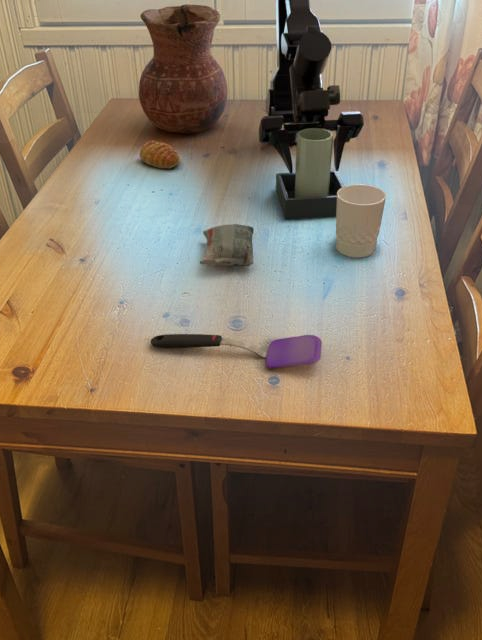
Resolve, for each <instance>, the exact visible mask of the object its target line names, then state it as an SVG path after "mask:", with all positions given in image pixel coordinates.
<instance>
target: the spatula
mask: <svg viewBox="0 0 482 640" xmlns="http://www.w3.org/2000/svg"><path fill="white" fill-rule="evenodd" d="M150 345H151V346H152V347H154V348H157V349H170V350H173V349H175V350H177V349H178V350H179V349H196V348H197V349H198V348H214V347H220V346H233V347H237V348H241V349H244V350H247V351H249V352H252V353H254V354H255V355H257V356H259V357H260V358H263V359H265V365H266V367H267V369H279V368H280V369H281V368H286V367H287V368H288V367H296V366H305V365H306V366H307V365H313V364H316V363H318V362H320V360H321V358H322V349H323V347H322V345H323V341H322V339H321V338H320V337H319V336H317V335H314V334H303V335H298V336H289V337H283V338H277V339H274V340H272V341H271V342H270V343H269V345H268V348H267V351H266V350H263V349H262V348H260V347H258V346H256V345H254V344H252V343H250V342H247V341H244V340H241V339H237V338H231V337H223V336H222V335H221V334H204V333H203V334H201V333H168V334H159V335H156V336H153V337H152V338H151V339H150Z"/></svg>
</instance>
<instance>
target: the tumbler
mask: <svg viewBox="0 0 482 640" xmlns="http://www.w3.org/2000/svg"><path fill="white" fill-rule="evenodd" d="M333 148H334V133H333V131H329V130H326V129H321V128H308V129H303V130H301V131H299V132H298V133H297V143H296V149H295V169H294V170H295V171H294V173H295V190H294V198H304V197H321V196H329V184H330V172H331V171H332V170H331V169H332V158H333Z"/></svg>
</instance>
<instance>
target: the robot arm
mask: <svg viewBox="0 0 482 640" xmlns="http://www.w3.org/2000/svg"><path fill="white" fill-rule="evenodd" d="M275 18H276V19H275V23H276V24H275V25H276V26H275V27H276V69H275V72H274V74H272V77H271V78H270V80H269V81H270V82H269V88H268V89H267V93H266V97H265V113H266V115H264V116H263V117H262V118H261V119H260V123H259V127H258V139H259V140H258V141H259V142H260V143H261V144H268V147H273V148H274V149H275V151H276V152H277V154H278V155H279V156H280V158H281V159H282V161H283V163H284V165H285V167H286V168H287V171H288V173H294V172H293V171H294V168H293V158H292V154H291V149H290V146H292V145H297V133H298V132H299V131H301V130H303V129H308V128H321V129H326V130H329V131H331V132H335V137H334V138H333V163H334V164H333V165H334V169H335V170H336V171H337V172H338V171H339V170H340V166H341V162H342V157H343V152H344V149H345V145H346V143H349V142H350V141H351V139H355V138H357V137H358V136H359V135H360V133H361V131H362V129H363V127H364V125H365V124H364V123H365V122H364V121H365V120H364V115H363V114H362V113H361V112H360V111H341V112H340V114H339V116H338V117H337V119H326V117H328V116H329V114H330V113H329V110H331V106H338V105H340V103H341V90H340V89H341V88H340V85H339V84H334V85H329V86H327V88H326V89H324V87H323V82H322V74H323V73H324V71H325V69H326V66H327V64H328V60H329V58H330V55H331V52H332V46H333V45H332V42H331V41H330V39H329V37H328V36H327V35H326V34H325V33H324V31H322V30H321V24H320V20H319V18H318V16H316V15H315V13H313V12H312V9H311V2H310V0H275Z"/></svg>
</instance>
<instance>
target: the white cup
mask: <svg viewBox="0 0 482 640" xmlns="http://www.w3.org/2000/svg"><path fill="white" fill-rule="evenodd" d="M344 186H345V187H342V188H341V189H339V190H338V192H337V206H336V217H335V249H336V251H337V252H338V253H339V254H340V255H343V256H345V257H348V258H356V259H357V258H358V259H359V258H366V257H368V256H369V257H370V256H371V255H373V254H374V253H375V252H376V250H377V249H376V248H377V243H378V237H379V235H380V230H381V225H382V220H383V215H384V209H385V204H386V199H387V194H386V192H385V191H384V190H382V189H381V188H379V187H377V186H374V185H370V184H361V183H357V184H355V183H354V184H348V185H344Z"/></svg>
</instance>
